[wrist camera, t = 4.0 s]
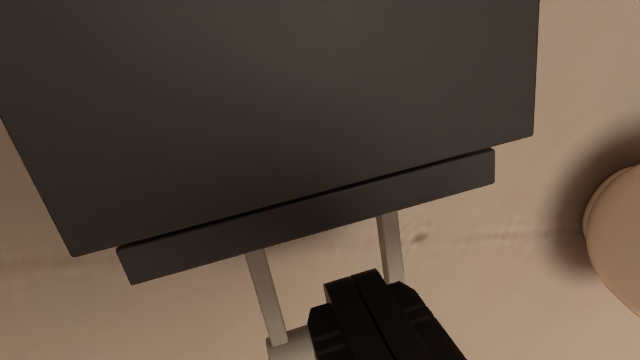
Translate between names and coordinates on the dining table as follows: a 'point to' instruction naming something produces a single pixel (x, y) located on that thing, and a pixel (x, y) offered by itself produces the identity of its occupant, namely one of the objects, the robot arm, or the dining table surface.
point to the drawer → (306, 234)
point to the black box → (249, 100)
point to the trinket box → (616, 235)
